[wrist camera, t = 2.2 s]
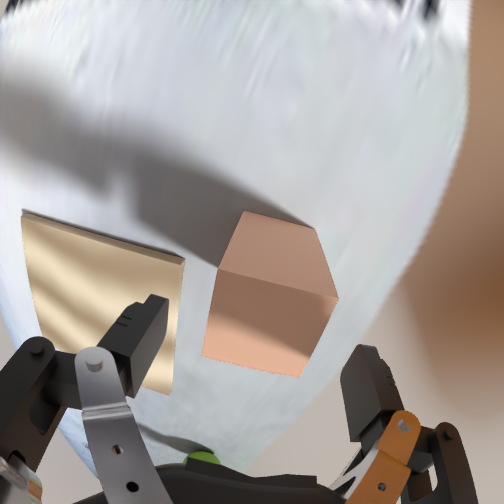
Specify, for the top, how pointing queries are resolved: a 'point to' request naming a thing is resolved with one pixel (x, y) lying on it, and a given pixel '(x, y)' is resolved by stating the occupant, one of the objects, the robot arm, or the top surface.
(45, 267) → the birch board
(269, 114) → the top surface
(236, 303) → the terracotta block
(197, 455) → the snail figurine
